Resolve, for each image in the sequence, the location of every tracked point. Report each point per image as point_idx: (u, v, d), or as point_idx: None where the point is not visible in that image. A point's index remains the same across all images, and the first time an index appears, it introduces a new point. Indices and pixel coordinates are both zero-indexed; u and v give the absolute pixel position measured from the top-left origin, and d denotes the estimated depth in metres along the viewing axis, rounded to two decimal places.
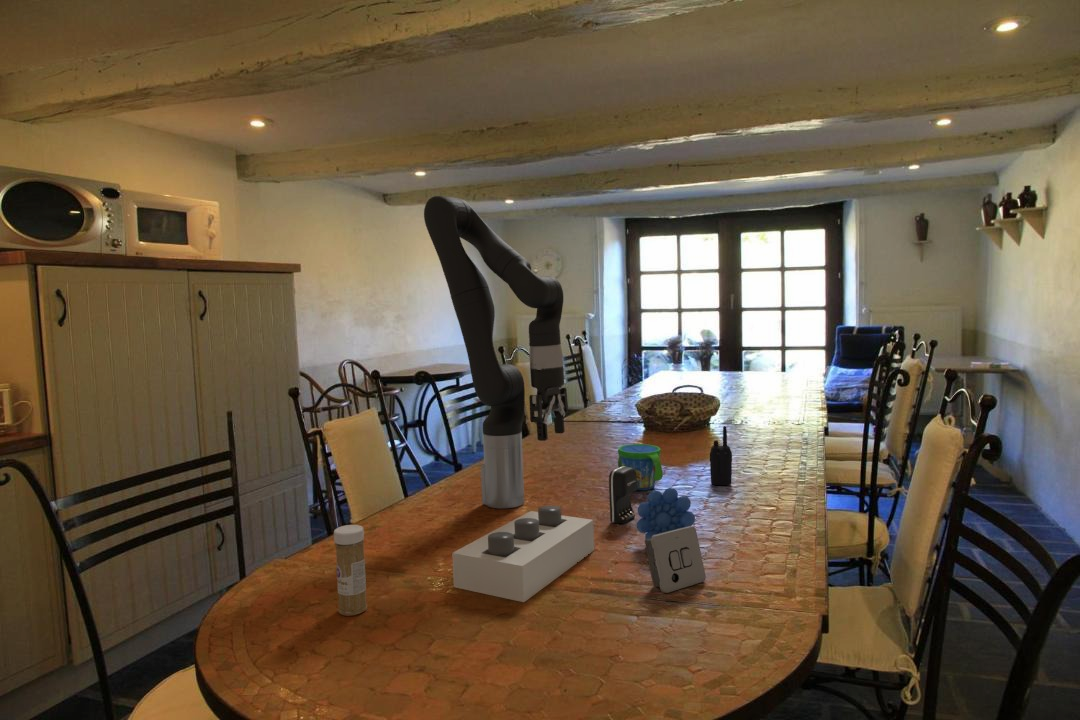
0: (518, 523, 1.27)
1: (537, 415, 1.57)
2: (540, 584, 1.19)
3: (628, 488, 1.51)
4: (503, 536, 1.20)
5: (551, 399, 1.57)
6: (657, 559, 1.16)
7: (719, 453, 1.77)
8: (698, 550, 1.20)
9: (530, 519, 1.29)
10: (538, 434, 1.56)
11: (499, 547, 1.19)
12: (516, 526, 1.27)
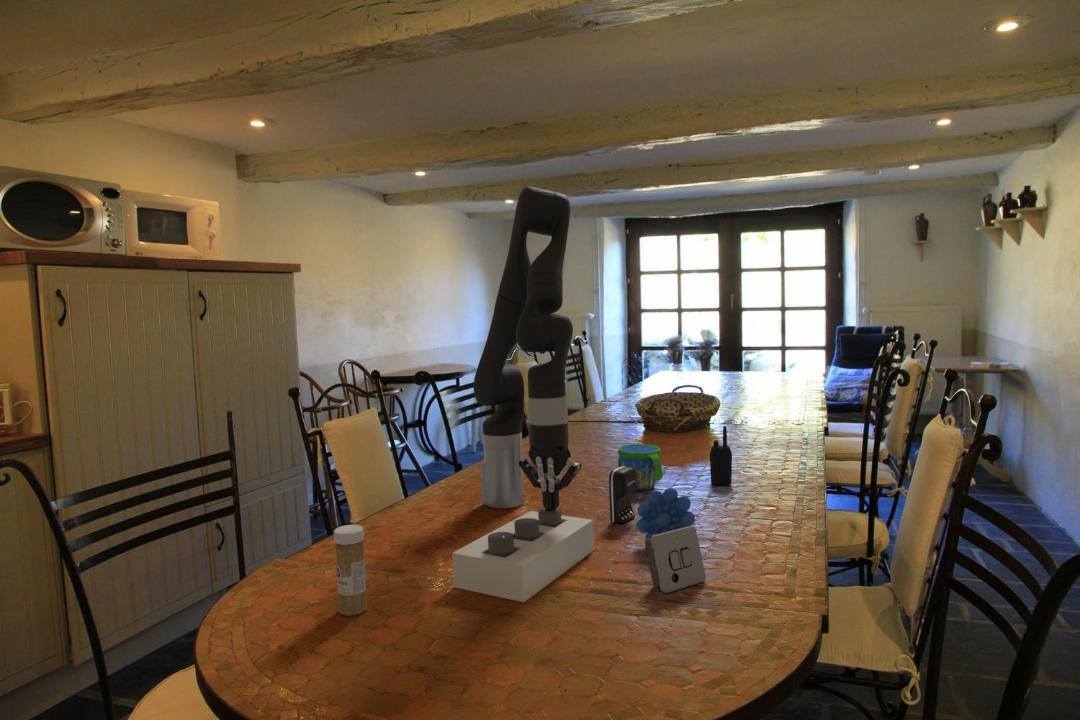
0: (518, 523, 1.27)
1: (555, 483, 1.33)
2: (540, 584, 1.19)
3: (628, 488, 1.51)
4: (503, 536, 1.20)
5: None
6: (657, 559, 1.16)
7: (719, 453, 1.77)
8: (698, 550, 1.20)
9: (530, 519, 1.29)
10: (556, 503, 1.34)
11: (499, 547, 1.19)
12: (516, 526, 1.27)
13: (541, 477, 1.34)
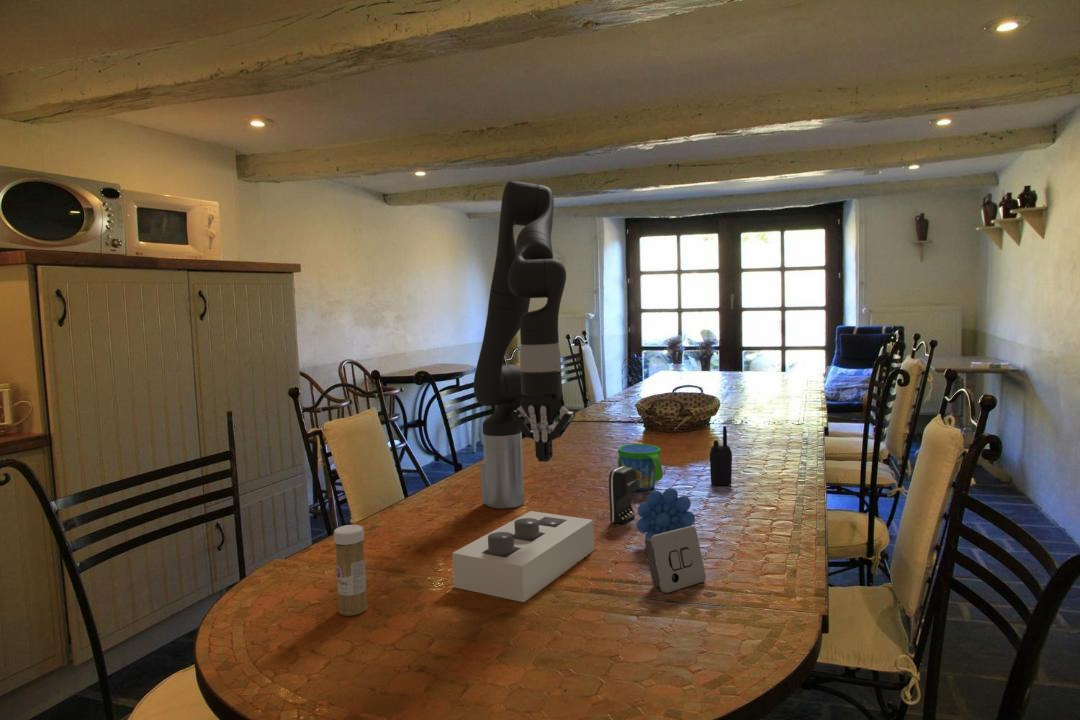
0: (518, 523, 1.27)
1: (548, 433, 1.30)
2: (540, 584, 1.19)
3: (628, 488, 1.51)
4: (503, 536, 1.20)
5: None
6: (657, 559, 1.16)
7: (719, 453, 1.77)
8: (698, 550, 1.20)
9: (530, 519, 1.29)
10: (549, 454, 1.31)
11: (499, 547, 1.19)
12: (516, 526, 1.27)
13: (534, 426, 1.30)
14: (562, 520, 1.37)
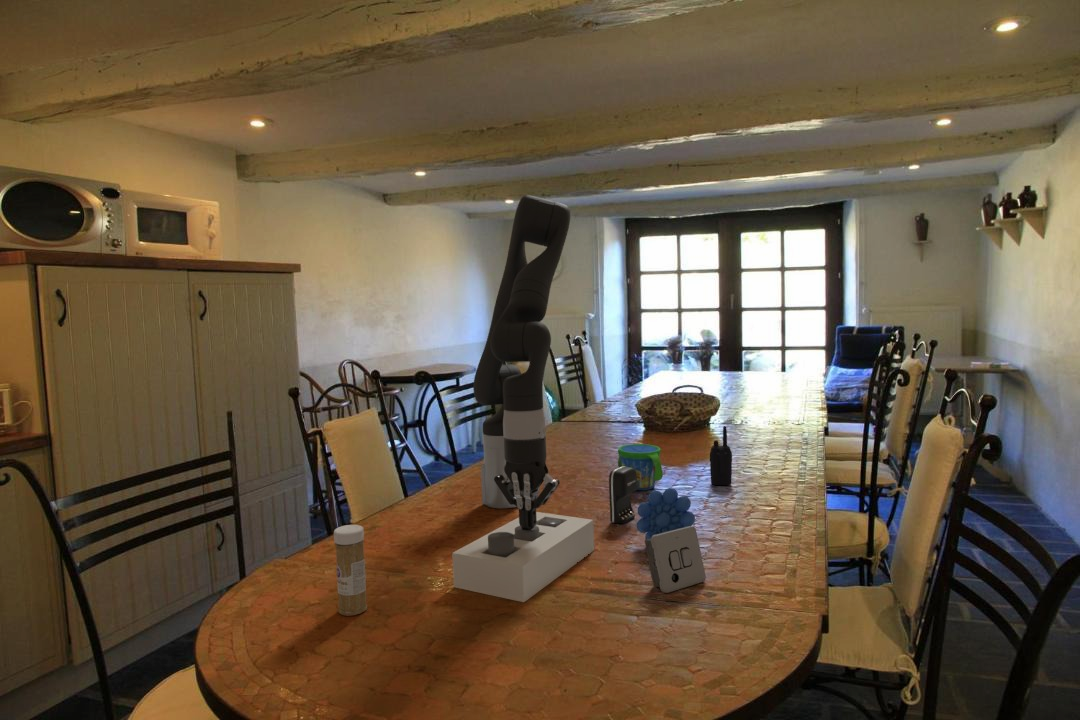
0: (518, 530, 1.27)
1: (532, 501, 1.26)
2: (540, 584, 1.19)
3: (628, 488, 1.51)
4: (503, 536, 1.20)
5: None
6: (657, 559, 1.16)
7: (719, 453, 1.77)
8: (698, 550, 1.20)
9: None
10: (533, 522, 1.27)
11: (499, 547, 1.19)
12: (516, 533, 1.27)
13: (518, 494, 1.26)
14: (562, 520, 1.37)
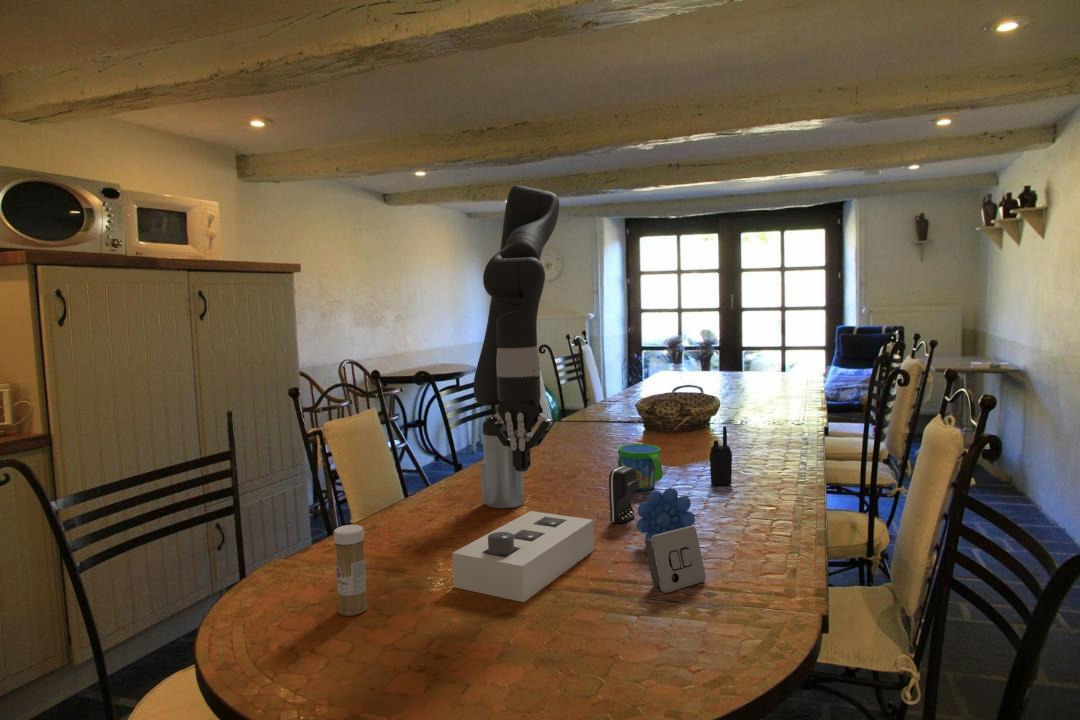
0: (519, 537, 1.27)
1: (526, 441, 1.24)
2: (540, 584, 1.19)
3: (628, 488, 1.51)
4: (503, 536, 1.20)
5: None
6: (657, 559, 1.16)
7: (719, 453, 1.77)
8: (698, 550, 1.20)
9: (531, 532, 1.30)
10: (527, 463, 1.24)
11: (499, 547, 1.19)
12: None
13: (511, 434, 1.24)
14: (562, 520, 1.37)
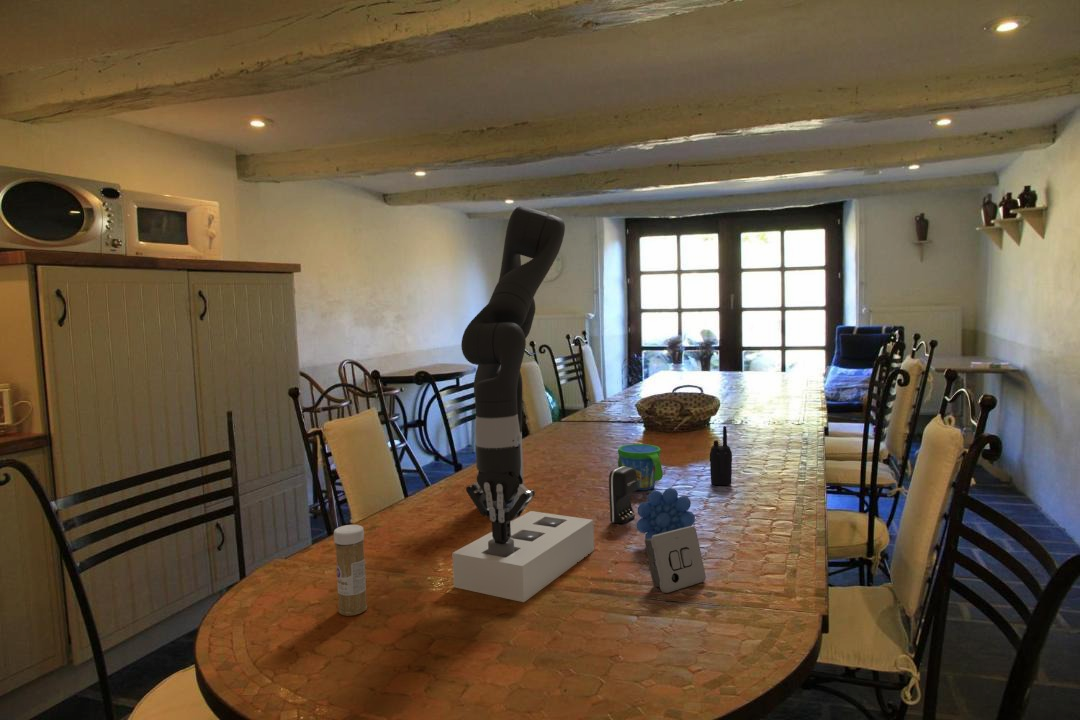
0: (519, 537, 1.27)
1: (505, 513, 1.19)
2: (540, 584, 1.19)
3: (628, 488, 1.51)
4: None
5: None
6: (657, 559, 1.16)
7: (719, 453, 1.77)
8: (698, 550, 1.20)
9: (531, 532, 1.30)
10: (506, 535, 1.19)
11: (499, 552, 1.19)
12: None
13: (490, 505, 1.19)
14: (562, 520, 1.37)
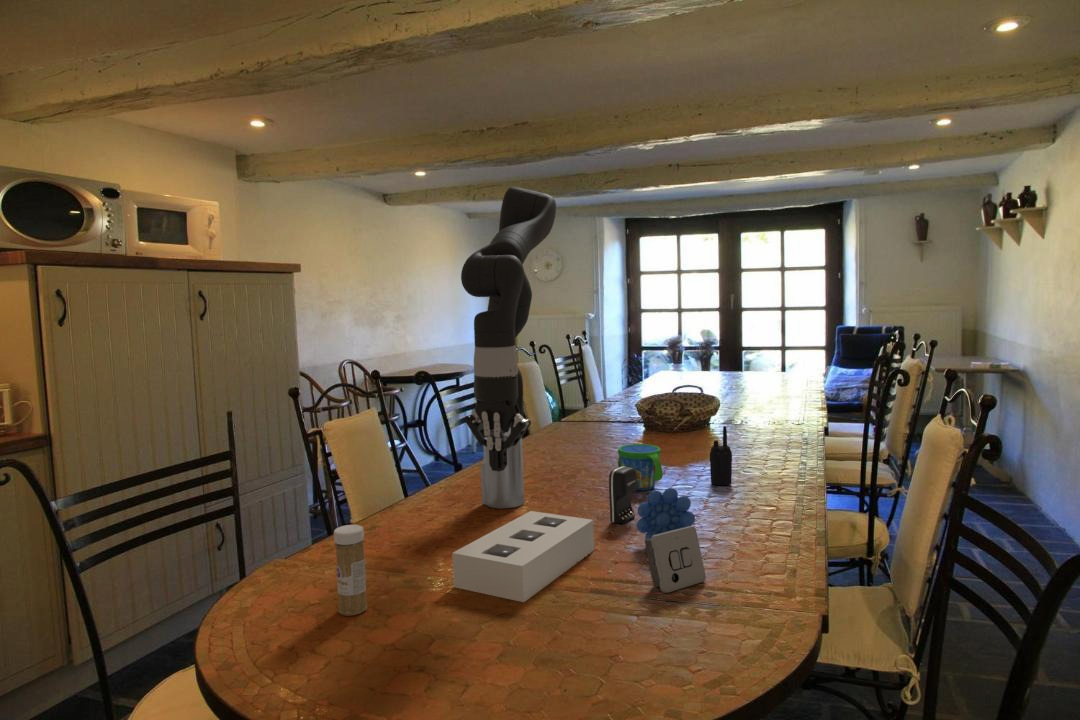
0: (519, 537, 1.27)
1: (502, 441, 1.22)
2: (540, 584, 1.19)
3: (628, 488, 1.51)
4: (504, 551, 1.21)
5: None
6: (657, 559, 1.16)
7: (719, 453, 1.77)
8: (698, 550, 1.20)
9: (531, 532, 1.30)
10: (503, 463, 1.23)
11: None
12: None
13: (488, 434, 1.23)
14: (562, 520, 1.37)
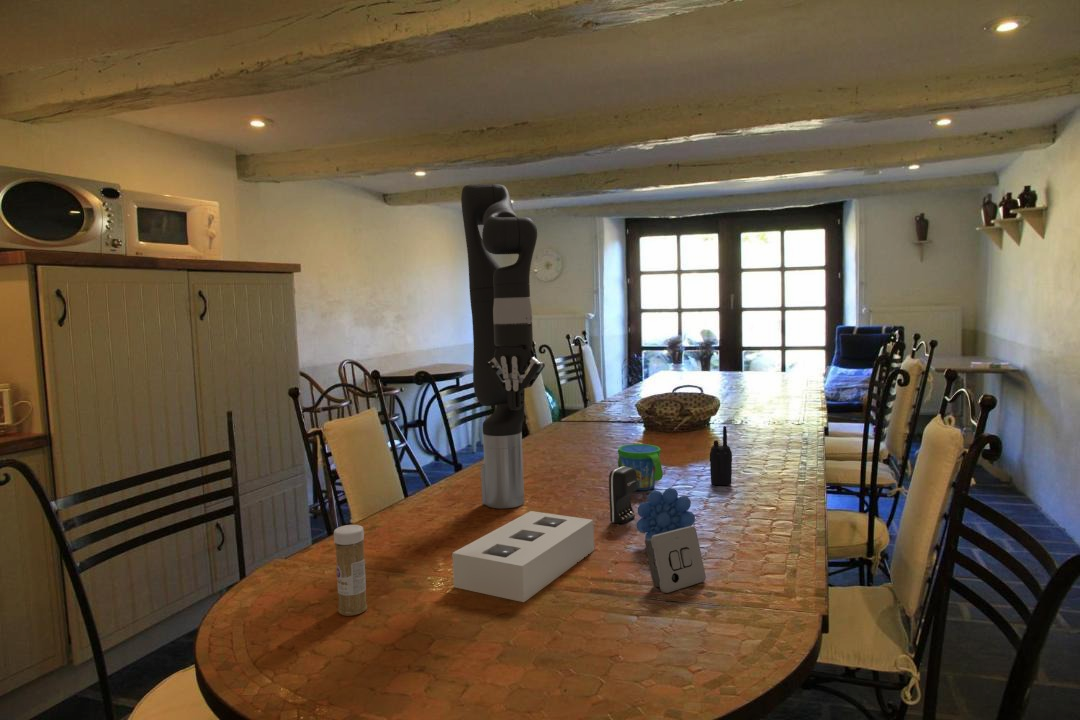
0: (519, 537, 1.27)
1: (519, 382, 1.38)
2: (540, 584, 1.19)
3: (628, 488, 1.51)
4: (504, 551, 1.21)
5: None
6: (657, 559, 1.16)
7: (719, 453, 1.77)
8: (698, 550, 1.20)
9: (531, 532, 1.30)
10: (520, 402, 1.38)
11: None
12: None
13: (506, 376, 1.38)
14: (562, 520, 1.37)
